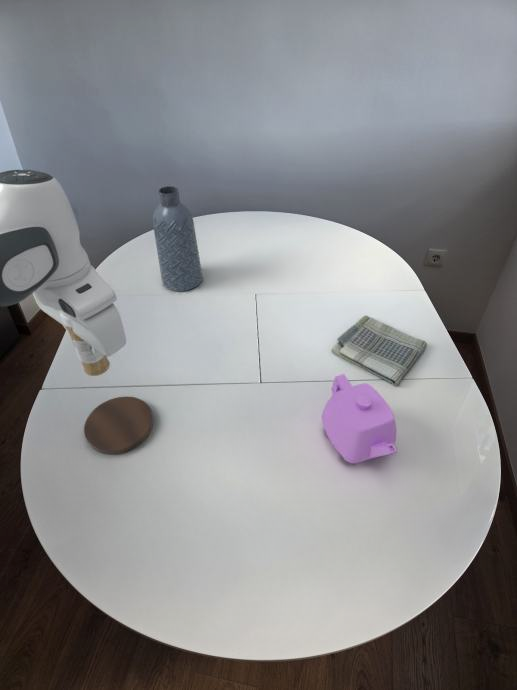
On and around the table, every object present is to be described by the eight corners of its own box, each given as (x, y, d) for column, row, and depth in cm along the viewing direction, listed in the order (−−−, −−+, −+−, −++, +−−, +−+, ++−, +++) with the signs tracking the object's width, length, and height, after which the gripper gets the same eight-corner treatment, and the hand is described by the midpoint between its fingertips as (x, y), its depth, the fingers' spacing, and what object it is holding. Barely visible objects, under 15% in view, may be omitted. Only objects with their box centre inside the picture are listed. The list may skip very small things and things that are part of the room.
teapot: (306, 413, 93) (310, 373, 85) (356, 396, 97) (365, 356, 88) (354, 493, 80) (365, 455, 71) (410, 470, 83) (427, 431, 74)
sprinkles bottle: (89, 358, 79) (66, 299, 70) (114, 359, 79) (93, 301, 69) (80, 376, 76) (54, 317, 66) (105, 378, 75) (83, 319, 66)
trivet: (113, 467, 84) (111, 463, 83) (72, 430, 91) (70, 426, 90) (166, 421, 92) (165, 417, 91) (125, 391, 99) (124, 386, 98)
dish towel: (428, 346, 108) (431, 337, 106) (395, 388, 98) (398, 379, 96) (362, 317, 117) (364, 308, 115) (327, 353, 107) (328, 344, 105)
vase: (192, 295, 125) (179, 202, 106) (155, 288, 128) (135, 196, 109) (208, 273, 134) (199, 183, 115) (173, 266, 137) (158, 178, 117)
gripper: (7, 266, 67) (39, 332, 77) (84, 317, 58) (110, 386, 67) (44, 249, 71) (70, 314, 80) (122, 295, 61) (141, 363, 71)
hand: (89, 347), depth 74 cm, fingers closed on sprinkles bottle, 4 cm apart
